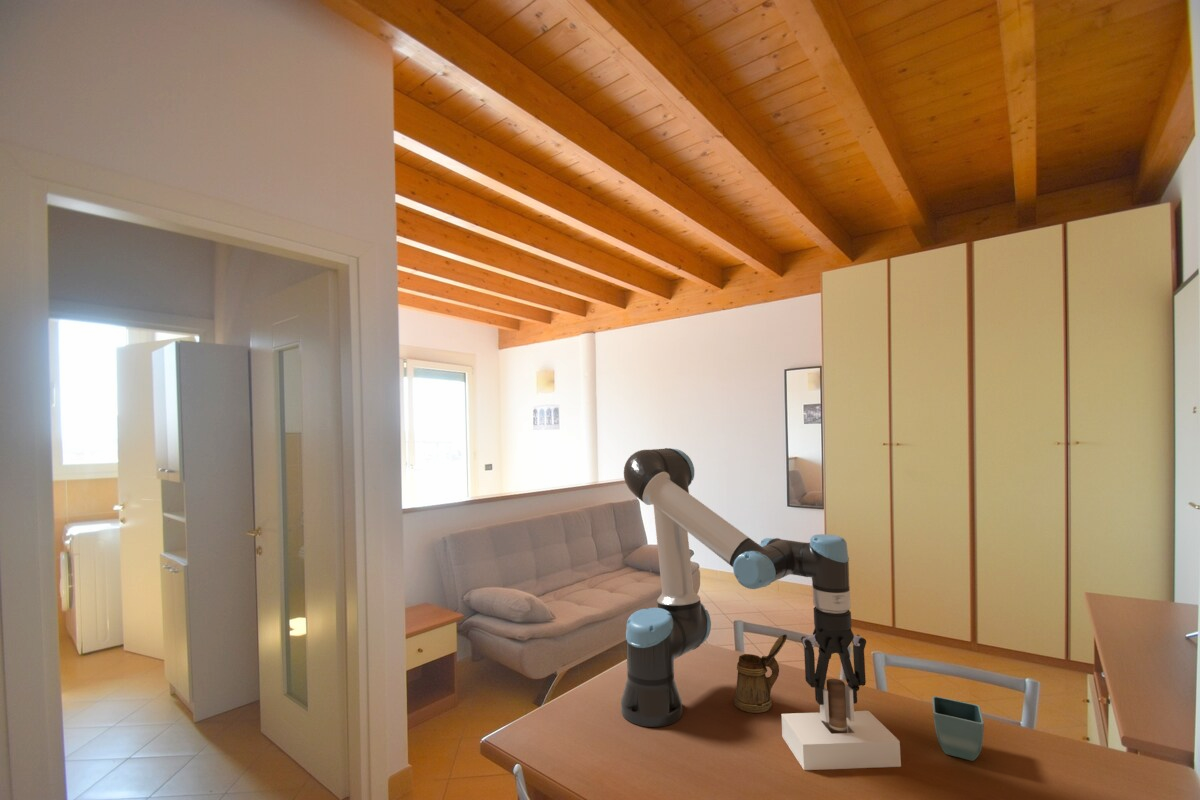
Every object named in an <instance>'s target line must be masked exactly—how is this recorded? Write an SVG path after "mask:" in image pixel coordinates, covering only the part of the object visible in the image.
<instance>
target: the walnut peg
mask: <svg viewBox="0 0 1200 800" xmlns="http://www.w3.org/2000/svg"><path fill="white" fill-rule="evenodd" d="M845 684H846V683H845V682H844V681H843V680H840V679H837V678H828V679H826V690H827V691H828V707H829V722H828V724H829V731H830V733H831V734H836V733H847V720H846V700H845Z"/></svg>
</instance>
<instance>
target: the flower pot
mask: <svg viewBox="0 0 1200 800" xmlns="http://www.w3.org/2000/svg"><path fill="white" fill-rule="evenodd" d="M931 698H932V699H931V700H932V714H933V720H934V729H935V733H936V737H937V742H938V744H939V745H940V748H941V750H943V752H944V754H945V755H949V756H952V757H956V758H959V759H964V760H967V761H972V762H973V761H974V762H975V760H976V759H977V758H978V757H979V756H980V754H981V751H982V748H983V743H984V742H983V741H984V731H985V730H984V728H985V722H984V718H983V715H982V709H981V706H980V705H979V704H974V703H969V702H964V701H959V700H955V699H951V698H945V697H941V696H934V695H933V696H931Z"/></svg>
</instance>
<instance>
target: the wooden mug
mask: <svg viewBox="0 0 1200 800" xmlns="http://www.w3.org/2000/svg"><path fill="white" fill-rule="evenodd" d="M787 639H788V635H787V634H782V635H781V636H779V637H778V638H777V639H776V640H775V642H774V644H773V645H772V647H771V648H770V651H769V653H768V655H762V656H759V655H756V654H751V653H750V654H749V653H747V654H746V653H744V654H742V655H739V656H738V662H737V664H736V670H737V677H736V678H737V679H736V689H735V690H736V691H735V694H734V700H733V702H734V705H735V706H736V708H738V709H739V710H741V711H744V712H746V713H752V714H753V713H754V714H759V713H765V712H768V711H769V710H770V709H771V708H772V705H773V702H772V697H771V693H772V692H771V691H772V688H773V686H774V684H775V683H776V682H777V679H778V677H779V673H780V667H779V663H778V661H777V660H776V658H775V657H776V656H777V654H779V652H780V651H781V649H782V648H783V647H784V645H785V643H786V641H787ZM768 667H769V669H770V670H771V674H770V676H766V673H767V672H768Z"/></svg>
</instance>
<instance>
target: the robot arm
mask: <svg viewBox="0 0 1200 800" xmlns="http://www.w3.org/2000/svg"><path fill="white" fill-rule="evenodd" d="M694 466H695V465H694V464H693V461H692V459H691V457H690V456H689V455H688V454H687V453H686V452H684V451H682V450H681V449H677V448H667V447H666V448H655V449H654V448H652V449H642V450H638V451H636V452H634V453H633V454H631V455H630V456H629V457H628V458H627V460H626V462H625V464H624V467H623V479H624V481H625V484H626V486H627V488H628V489H629V491H630V492H631V493H632V494H633V495H634V496H635V497H636V498H638V499H639V500H640V501H641V502H642V503H644V504H645V505H647V506H650V505H652V506H653V514H654V524H655V533H656V534H655V535H656V545H657V553H658V565H659V575H660V583H661V585H660V586H661V594H659V597H658V598H657V607H648V608H641V609H638V610H636V611H634V612H632V613H631V615H630V616H629V617H628V619H627V621H626V630H625V641H626V667H627V669H626V670H627V672H626V673H627V674H626V675H627V679H626V682H625V687H624V689H623V693H622V697H621V701H620V708H621V709H620V710H621V715H622V716H623V717H624V719H625V720H627V721H628V722H630V723H632V724H635V725H637V726H641V727H648V728H660V727H664V726H665V727H666V726H668V725H672V724H674V723H676V722H678V721H679V720H680V719H681V717H682V716H683V702H682V697H681V695H680V692H679V689H678V685H677V684H676V683H677V682H676V680H675V665H674V664H675V663H674V662H675V661H674V660H676V659H677V658H680V657H681V656H683V655H686V654H687V653H689V652H690V651H694V650H696V649H697V648H699V647H700V646H701V645H702V644H703V643H705V642H706V641H707V639H708V638H709V635H710V633H711V629H712V619H711V615H710V613H709V611H708V609H706V606H705V605H704V604H703V603H702V602H701V596H699V594H697V593H696V592H695V591H694V583H693V582H694V581H693V572H692V563H691V553H690V543H689V535H688V534H690V535H691V536H692V537H694V539H696V540H698V541H699V542H700V543H702V544H703V545H704V546H705V547H706V548H707V549H709V550H710V551H711V552H713V553H714V554H715V555H717V556H718V557H719V558H720V559H722V560H723V561H724V562H726V563H727V564H728V565H730V567H732V569H733V574H734V577H735V578H736V580H737V582H738V583H739V584H740V585H741V586H742V587H744V588H745V589H750V590H756V589H760V588H765V587H768V586H770V585H771V584H772V583H773V582H776V581H778V580H781V579H782V578H784V577H787V576H790V575H793V576H798V577H804V578H810V579H811V582H812V583H811V585H812V604H813V606H814V608H813V623H814V629H813V632H812V634H811V635H809V636H807V637H806V636H803V635H802V636H801V638H800V640H801V642H802V643H801V644H802V646H803V653H804V654H803V656H804V671H805V672H804V676H805V681H806V683H807V684H808V685H809V686H810V687H811V688H814V695H815V696H814V697H815V701H816V703H817V704H818V705H819V712H820V716H821V717H822V719H823V720H824V721H825V722H826V723H827V722H829V707H828V691H827V687H825V686H826V685H825V684H826V681H827V679H826V678H827V674H828V669H829V665H830V664H829V663H830V660H831V658H832V654H835V653H836V654H838V655H839V656H838V657H839V660H840V663H841V666H842V670H843V674H844V677H845V680H846V683H845V700H846V717H847V718H848V719H849V720H850V721H851V722H854V711H855V705H854V704H858V691H859V690H860V686H862V687H863V686H865V685H867V683H866V682H867V681H866V679H867V678H866V665H865V664H866V662H865V660H866V659H865V648H866V644H867V640H866V638H864V637H863V636H862V635H860V634H854V632H853V630H852V611H850V609H851V590H850V567H849V564H850V563H849V561H850V556H849V554H848V543H847V541H846V539H845V538H844V537H842V536H840V535H835V534H822V533H821V534H814V535H812V536H811V537H810V539H809V542H803V541H797V540H796V541H795V540H788V539H781V538H779V537H776V538H775V537H774V538H771V537H770V538H769V537H765V538H762V540H761V542H760V543H758V542H756V541H754V540H753V539H752V538H750V537H749V536H748V535H747V534H745V533H744V532H742V531H741V530H739V528H737V527H735V526H734V525H733V524H731V523H730V522H729V521H727V520H726V519H724V518H723V517H722V516H720V515H719V514H717V513H716V512H715V511H713V510H712V509H710V507H708V506H707V505H705V504H704V503H702V502H701V501H700V500H698V499H697V498H696V497H694V496H693V495H691V494H690V489H689V486H690V485H691V484H692V482H693V481H694V479H695V467H694ZM815 642H817V644H818V645H819V646H818V656H817V662H815V650H814V649H815V646H816V644H815ZM851 643H852V653H853V656H852V657H853V666H852V662H851V655H850V651H849V646H850V645H851Z"/></svg>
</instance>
